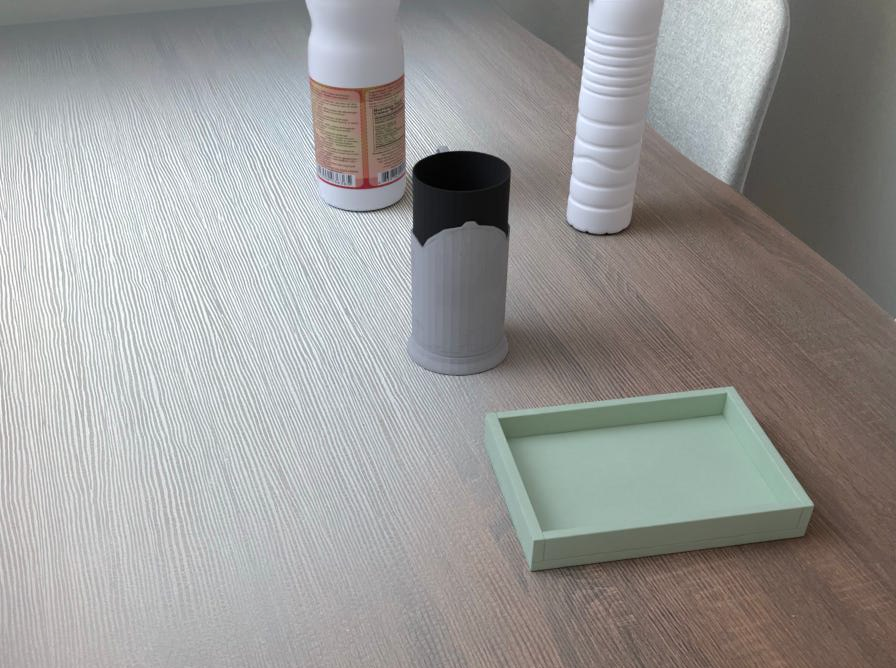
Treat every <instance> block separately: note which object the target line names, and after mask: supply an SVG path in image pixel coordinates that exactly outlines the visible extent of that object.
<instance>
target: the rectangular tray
mask: <svg viewBox="0 0 896 668" xmlns="http://www.w3.org/2000/svg"><path fill="white" fill-rule="evenodd" d="M483 436H484V437H483V444H484V447H485V450H486V453H487V455H488V458H489V461H490V464H491V466H492V467H491V468H492V469H493V472H494V475H495V477H496V480H497V483H498V486H499V488H500V491H501V494H502V497H503V500H504V502H505V505H506V507H507V511H508V514H509V516H510V519H511V522H512V524H513V527H514V530H515V533H516V536H517V538H518V540H519V543H520V546H521V549H522V551H523V554H524V558H525V560H526V563H527V566H528V568H529V571H530V572H536V571H543V570H551V569H559V568H567V567H575V566H583V565H590V564H598V563H605V562H614V561H622V560H630V559H638V558H645V557H652V556H661V555H667V554H668V555H669V554H677V553H683V552H691V551H700V550H707V549H716V548H722V547H723V548H724V547H730V546H731V547H732V546H739V545H747V544H754V543H761V542H771V541H778V540H785V539H793V538H802V537H805V534H806V532H807V528H808V526H809V522H810V520H811V517H812V514H813V511H814V508H815V504H814V502H813V501H812V499H811V498H810V497H809V495H808V494H807V492H806V490H805V489H804V487H803V486H802V485H801V483H800V482H799V480H798V479H797V478H796V475H794V473H793V472H792V470H791V469H790V467H789V465H787V463H786V461H785V460H784V458H783V457H782V455H781V454H780V453H779V451H778V450H777V448H776V447H775V445H774V444H773V442H772V441H771V439H770V438H769V437H768V434H766V432H765V430H764V429H763V428H762V426H761V425H760V424H759V422H758V420H757V419H756V418H755V416H754V414H753V413H752V412H751V410H750V409H749V408H748V406H747V404H746V402H744V400H743V398H742V397H741V395H740V394H739V392H738V391H737V390H736V388H735V387H734V386H725V387H723V386H721V387H712V388H704V389H695V390H687V391H678V392H677V391H676V392H669V393H659V394H650V395H641V396H632V397H624V398H622V397H621V398H614V399H604V400H596V401H586V402H577V403H569V404H560V405H552V406H541V407H534V408H532V407H531V408H523V409H515V410H506V411H497V412H487V413H485V418H484V435H483Z"/></svg>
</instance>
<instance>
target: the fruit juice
mask: <svg viewBox="0 0 896 668" xmlns="http://www.w3.org/2000/svg"><path fill="white" fill-rule="evenodd" d="M304 1H305V6H306V8H307V11H308V15H309V17H310V23H311V28H310V33H309V36H308V40H307V70H308V80H309V90H310V92H309V93H310V103H311V105H310V106H311V117H312V129H313V132H312V133H313V143H314V154H315V169H316V182H317V188H318V192H319V195H320V198H321V199H322V200H323V201H324V202H325V203H326V204H328V205H329V206H332V207H333V208H336V209H337V208H338V209H340V210H345V211H352V212H366V211H368V212H369V211H376V210H380V209H384V208H388V207H390V206H392V205H394V204H396V203H397V202H399V201H400V200H401V199H402V198H403V197H404V195H405V193H406V187H407V158H406V157H407V152H406V151H407V149H406V148H407V147H406V146H407V145H406V144H407V143H406V99H405V98H406V92H405V91H406V89H405V84H406V83H405V71H406V70H405V50H404V42H403V37H402V34H401V31H400V29H399V26H398V17H399V11H400V6H401V2H402V0H304Z"/></svg>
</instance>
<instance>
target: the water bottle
mask: <svg viewBox="0 0 896 668" xmlns="http://www.w3.org/2000/svg"><path fill="white" fill-rule="evenodd" d="M664 5H665V0H589V3H588V11H587V12H588V14H587V26H586V36H585V46H584V56H583V65H582V72H581V73H582V75H581V79H580V81H581V84H580V89H579V96H578V103H577V104H578V107H577V108H578V109H577V110H578V113H577V117H576V123H575V124H576V125H575V132H576V133H575V137H574V143H573V157H572V162H571V175H570V179H569V180H570V181H569V194H568V198H567V207H566V221H567V222H568V224H569V225H570V226H572V227H573V228H574V229H576V230H578V231H581V232H584V233H586V232H588V233H589V234H594V235H604V234H606V233H607V234H610V235H611V234H616V233H619V232H621V231H622V230H625V229H626V228H628V227H629V225H630V224H631V221H632V216H633V208H634V197H635V192H636V189H637V188H636V187H637V176H638V173H639V168H640V161H641V151H642V148H643V137H644V134H645V129H646V120H647V118H646V116H647V112H648V109H649V103H650V95H651V87H652V77H653V74H654V67H655V61H656V60H655V58H656V55H657V47H658V43H659V42H658V41H659V40H658V38H659V35H660V26H661V22H662V16H663V12H664Z"/></svg>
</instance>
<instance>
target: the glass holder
mask: <svg viewBox="0 0 896 668" xmlns="http://www.w3.org/2000/svg"><path fill="white" fill-rule="evenodd" d="M511 176H512V170H511V166H510V165H509V164H508V162H506V161H505V160H504V159H502V158H500V157H498V156H496V155H492V154H490V153H487V152H482V151H481V152H480V151H473V150H449V147H448V146H447V145H438V146H437V147H436V150H435V153H433V154H430V155H427V156H425V157H423V158H421V159H419V160H418V161H417V162H416V163H415V164H414V165H413V167H412V169H411V178H412V179H411V183H412V184H411V185H412V187H411V188H412V189H411V191H412V228H411V229H410V273H411V274H410V275H411V276H410V278H411V280H410V282H411V283H410V285H411V335H410V336H409V338H408V340H407V344H406V350H407V354H408V356H409V357H410V359H411V360H412V362H414V363H415V364H417V365H418V366H419V367H422V368H423V369H425V370H427V371H430V372H434V373H438V374H442V375H449V376H467V375H474V374H479V373H483V372H486V371H488V370H491V369H493V368H495V367H496V366H499V364H501V363H502V362H503V361H504V360H505V359H506V357H507V355H508V353H509V343H508V340H507V337H506V334H505V320H506V305H507V303H506V302H507V288H508V287H507V286H508V268H509V250H510V236H511V235H510V234H511V226H510V223H509V214H510V213H509V212H510V196H511V195H510V193H511V181H512V179H511V178H512V177H511Z"/></svg>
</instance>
